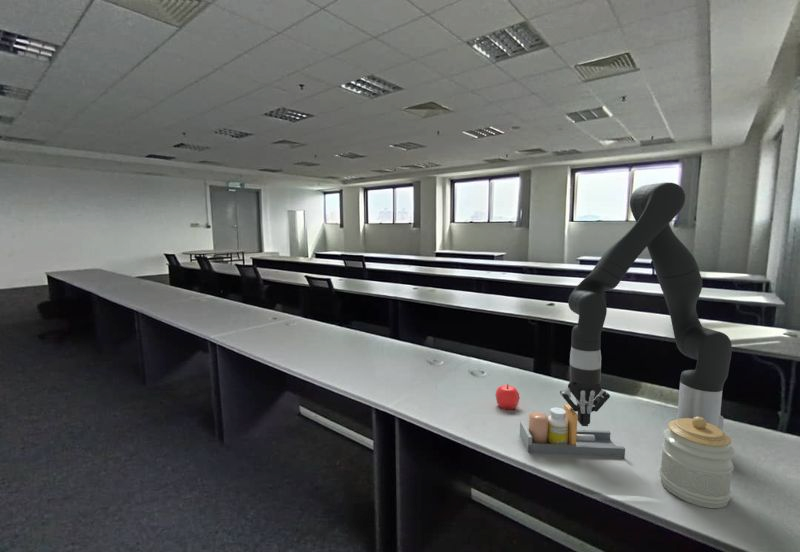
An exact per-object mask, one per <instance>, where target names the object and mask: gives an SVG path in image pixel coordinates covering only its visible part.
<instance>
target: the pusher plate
mask: <svg viewBox="0 0 800 552" xmlns="http://www.w3.org/2000/svg"><path fill="white" fill-rule="evenodd" d="M563 409H564V410H565V411H566V419H567V420H568V445H576V440H578V441H595V436H594V435H586V434H577V430H578V413H577V411H574V410H573V409H572V407H571V406H570V405H569V404H568V403H567V404H566V403H564V404H563Z"/></svg>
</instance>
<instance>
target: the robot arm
mask: <svg viewBox="0 0 800 552" xmlns="http://www.w3.org/2000/svg"><path fill="white" fill-rule="evenodd" d="M685 202H686V193H685V191H684V189H683V188H682V186H681V185H679V184H677V183H674V182H660V183H653V184H646V185H641V186H639V187H637V188H636V189H634V191H633V192H632V194H631V196H630V198H629V207H630V211H631V214H632V216H633V219H634V220H635V224H633V226H632V227H631V228H630V229H629V230H628V231H627V232H626V233H624V235H622V236H621V237H620V238H619V239H618V240H617V241H615V242H614V243H612V245H610V246H609V247H608V249H607V250H606V251H605V252H604V253H603V254H602V256H601V257H600V259H599V260H598V262H597V263H596V265H595V266H594V267H593V268H592V271H591V272H590V273H589V274H588V275H586V277H585V278H583V280H581V282H579V283H578V285H576V286H575V287H574V289H573V290H572V291H571V293H570V294H569V297H568V301H567V302H568V303H567V305H568V308H569V310H570V311H571V312H573V313H574V314H577V315H578V321H577V325H576V324H575V325H574V326H573V327H572V330H571V337H570V338H571V340H570V341H571V342H570V343H571V344H570V345H571V346H570V352H569V383H568V384H567V388H566V389H564V390H560V391H559V394H560V395H561V397H563V399H564V400H565V401H566V402H567V404H569V405H570V406H571V408H572V409H573V410H574V411H575V412H576V413H577V415H578V419H577V423H579V424H580V425H581V427H589V425H590V424H591V413H592V412H598V411H599V410H600V409H601V408H602V407H603V406H604V404H605V403H606V402H607V401H608V400H609V399H610V397H611V395H610V394H609V392H607V391H606V390H603V389H602V388H603V387H602V385H601V379H602V378H601V375H602V373H601V372H602V354H601V353H602V352H601V345H602V343H601V342H602V341H601V333H602V330H603V328H604V325H605V322H606V317H607V311H608V308H607V306H608V305H607V302H606V300H605V298H604V296H602V295H604V294H605V292H607V291H609V290H610V291H611V290H614V289H615V288H616V287H617V286H618V285H619V284H620V282H621V281H622V280H623V278H624V277H625V275H626V274H627V272H629V270H630V268H631V267H632V265H633V264H634V262H635V261H636V260H637V258H638V257H639V256H640V255H641V254H642V253H643V252H644V250H645V249H646V248H647V250H648V252H649V256H650V259H651V261H652V264H653V268H654V271H655V274H656V278H657V280H658V284H659V286H660V288H661V291H662V294H663V297H664V301H665V303H666V307H667V309H668V314H669V317H670V321H671V326H672V331H673V336H674V341H675V344H676V348H677V349H678V351H679V352H680V353H681V354H683V355H684V356H685V357H687V358H690V359H692V360H696V366H695V369H687V370H682V372H681V374H680V380H679V390H678V393H679V394H678V403H677V413H676V414H677V415H676V416H677V417H676V420H678V419H681V418H690V419H693V418H694V417H697V416H698V417H702V418H704V419H705V421H706V422H707V423H710V424H712V425H714V426H716V427H718V428H719V429H721V430H722V431H723V430H724V418H725V417H724V416H723V415H721V410H722V409H721V408H722V398H723V389H724V384H725V382H726V380H727V378H728V377H729V371H730V370H729V369H730V365H731V364H730V363H731V360H732V353H733V344H732V342H731V339H730V337H729V336H728V335H727V334H726V333H723V332H721V331H718V330H716V329H715V330H714V329H712V328H711V329H710V328H706V327H704V326H703V324H702V323H701V321H700V318H699V315H698V313H697V302H698V301H699V300H698V299H699V297H700V294H701V293H702V289H703V279H702V274H701V272H700V271H701V270H700V269H699V266H698V265H699V264H698V263H697V260H696V258H695V257H694V255H693V254H692V252H691V251H690V250H689V249H688V248H687V247H686V245H684V243H683V242H682V241H681V240H680V239H679V238H678V237H677V235H676V234H675V232H674V231H673V229H672V228H671V225H670V223H671V222H672V221H673V220H674V219H675V218H676V217H677V216H678V214H680V212H681V210H682V209H683V207H684V205H685ZM572 395H573V397H574V398H575V401H576V403H574V402H573V400H572V399H571V398H572ZM723 432H724V431H723Z"/></svg>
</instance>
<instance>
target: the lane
mask: <svg viewBox="0 0 800 552" xmlns="http://www.w3.org/2000/svg"><path fill="white" fill-rule="evenodd" d="M577 434H586V435H594V436H595V441H578V440H576V445H568V444H548V443H547V444H540V443H532V436H531V434H530V432H529V427H528V426H527V425H526V422H525V420H519V435H520V436H519V437H520V438H521V441H522V442H523V445H524V448H525V449H526V452H528V453H535V454H536V453H537V454H565V455H588V456H589V455H590V456H591V455H592V456H613V457H614V456H617V457H618V456H619V457H621V458H622V459H623V460H624V459H625V457H626V448H625V446H623V445H622V446H621V445H618V446H616V444H615V443H614V442H613V441H612V440H611V432H610V431H609V430H591V429H590V430H589V429H577Z"/></svg>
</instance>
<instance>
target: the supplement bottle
mask: <svg viewBox="0 0 800 552" xmlns="http://www.w3.org/2000/svg"><path fill="white" fill-rule="evenodd" d="M549 411H550V412H549V414H550V415H548V441H547V443H548V444H568V420H567V419H566V411H565V410H564V408H561V407H552V408H550V409H549Z"/></svg>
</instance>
